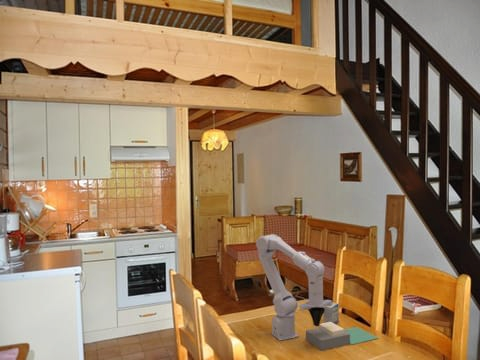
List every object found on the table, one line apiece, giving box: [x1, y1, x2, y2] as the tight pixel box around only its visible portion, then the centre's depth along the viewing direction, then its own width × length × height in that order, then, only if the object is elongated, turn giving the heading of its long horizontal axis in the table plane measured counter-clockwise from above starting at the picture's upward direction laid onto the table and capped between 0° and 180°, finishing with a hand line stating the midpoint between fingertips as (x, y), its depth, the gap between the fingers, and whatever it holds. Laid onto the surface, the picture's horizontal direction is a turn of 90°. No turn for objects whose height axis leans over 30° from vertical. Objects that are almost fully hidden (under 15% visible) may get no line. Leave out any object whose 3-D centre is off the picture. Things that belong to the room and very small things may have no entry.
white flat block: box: [318, 322, 345, 337], centre depth 153 cm, size 6×9×2 cm, turn 23°
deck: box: [305, 327, 351, 352], centre depth 152 cm, size 14×11×4 cm
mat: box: [344, 326, 379, 346], centre depth 158 cm, size 14×13×1 cm
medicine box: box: [322, 301, 340, 325], centre depth 172 cm, size 8×4×9 cm, turn 143°
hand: (316, 325), depth 150 cm, fingers closed
